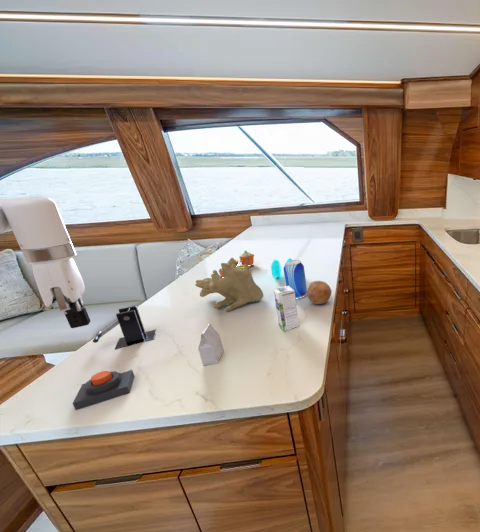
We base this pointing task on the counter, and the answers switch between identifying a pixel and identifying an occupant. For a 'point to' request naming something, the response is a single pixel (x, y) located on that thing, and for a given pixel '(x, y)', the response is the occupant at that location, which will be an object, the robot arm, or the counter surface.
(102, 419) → the counter surface
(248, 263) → the toy tea set
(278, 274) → the cyan lobed shape
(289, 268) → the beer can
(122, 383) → the control block
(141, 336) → the bracket
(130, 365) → the counter surface
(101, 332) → the lever
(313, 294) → the coconut
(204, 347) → the pale grey crystal
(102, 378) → the button
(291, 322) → the syrup box
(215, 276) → the decorative coral
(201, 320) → the counter surface
